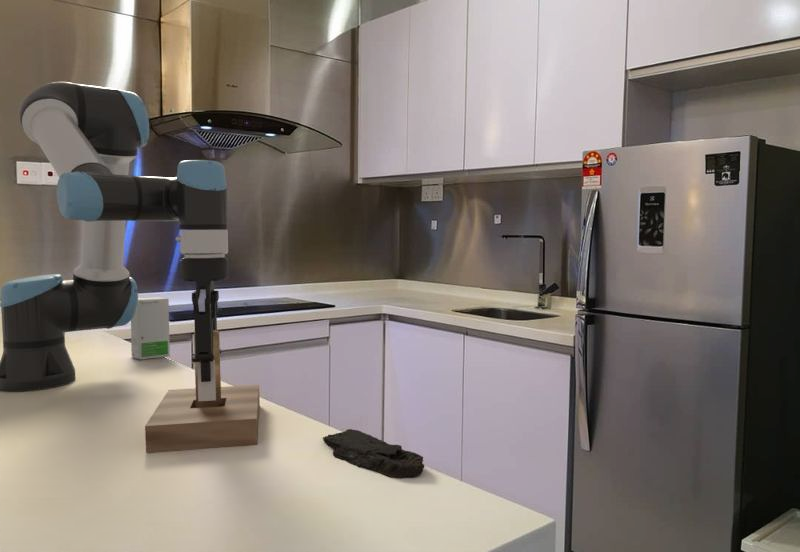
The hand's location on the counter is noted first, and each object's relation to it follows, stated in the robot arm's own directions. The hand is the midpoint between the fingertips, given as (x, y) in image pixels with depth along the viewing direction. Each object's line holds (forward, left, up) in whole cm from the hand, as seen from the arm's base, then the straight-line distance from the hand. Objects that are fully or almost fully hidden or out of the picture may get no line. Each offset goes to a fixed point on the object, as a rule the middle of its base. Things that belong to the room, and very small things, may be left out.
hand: (208, 396), depth 104 cm
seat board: (0, 0, -5) cm, 5 cm away
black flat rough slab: (+20, +24, -6) cm, 32 cm away
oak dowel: (0, 0, -3) cm, 3 cm away
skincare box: (-67, -21, -5) cm, 70 cm away
